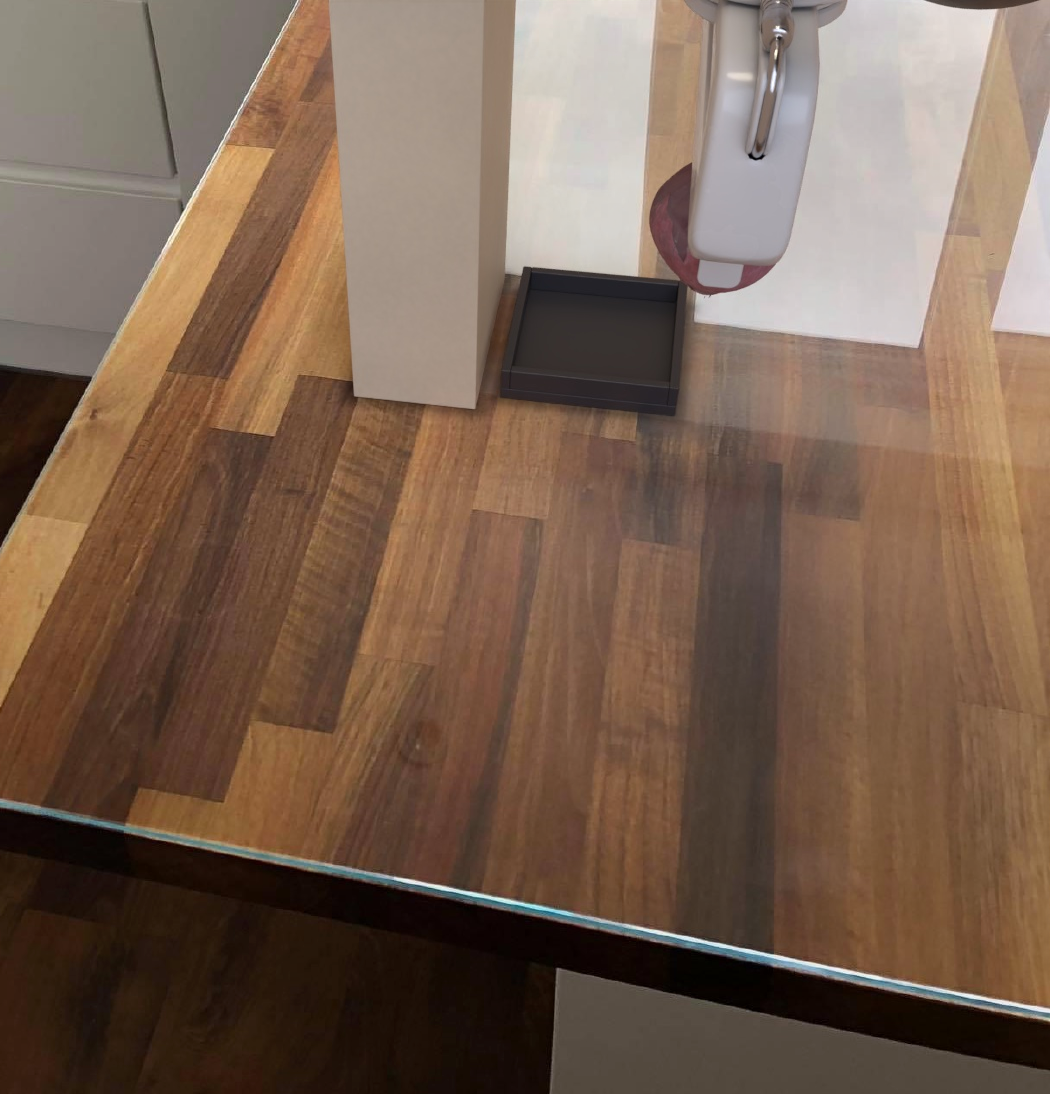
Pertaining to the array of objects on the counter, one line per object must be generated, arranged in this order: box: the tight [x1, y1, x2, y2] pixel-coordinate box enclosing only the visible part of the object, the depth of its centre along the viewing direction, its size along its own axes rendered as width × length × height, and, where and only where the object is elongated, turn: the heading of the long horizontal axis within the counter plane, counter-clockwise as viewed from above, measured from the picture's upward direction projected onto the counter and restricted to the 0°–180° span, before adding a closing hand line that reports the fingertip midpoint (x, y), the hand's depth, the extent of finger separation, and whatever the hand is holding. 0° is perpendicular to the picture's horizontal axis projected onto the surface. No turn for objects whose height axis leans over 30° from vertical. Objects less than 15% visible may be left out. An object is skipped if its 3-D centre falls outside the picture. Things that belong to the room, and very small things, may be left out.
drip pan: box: [499, 265, 689, 417], centre depth 91 cm, size 11×11×2 cm
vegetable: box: [648, 161, 777, 299], centre depth 60 cm, size 6×6×10 cm
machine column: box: [328, 0, 517, 410], centre depth 83 cm, size 9×15×30 cm, turn 169°
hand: (719, 224), depth 61 cm, fingers closed on vegetable, 6 cm apart
